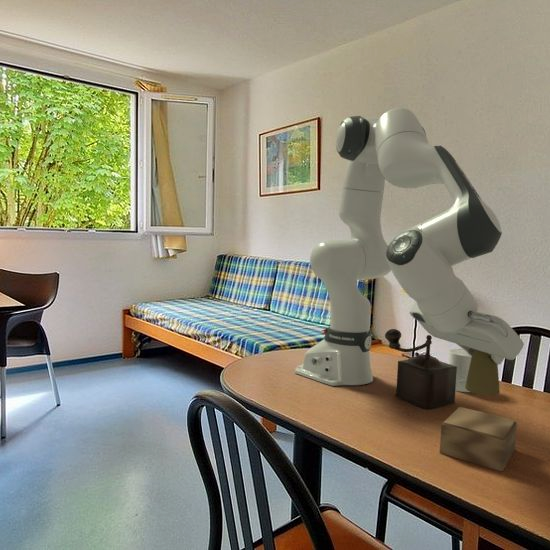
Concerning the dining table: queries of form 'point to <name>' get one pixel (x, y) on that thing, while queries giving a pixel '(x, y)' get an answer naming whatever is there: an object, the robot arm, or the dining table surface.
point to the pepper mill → (423, 376)
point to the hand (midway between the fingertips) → (486, 357)
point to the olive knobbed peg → (482, 375)
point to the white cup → (460, 367)
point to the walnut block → (478, 438)
